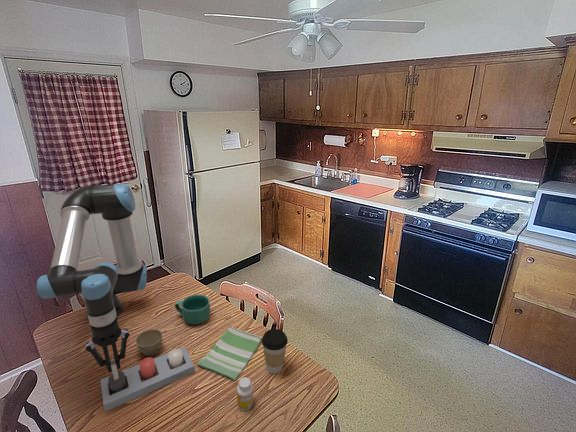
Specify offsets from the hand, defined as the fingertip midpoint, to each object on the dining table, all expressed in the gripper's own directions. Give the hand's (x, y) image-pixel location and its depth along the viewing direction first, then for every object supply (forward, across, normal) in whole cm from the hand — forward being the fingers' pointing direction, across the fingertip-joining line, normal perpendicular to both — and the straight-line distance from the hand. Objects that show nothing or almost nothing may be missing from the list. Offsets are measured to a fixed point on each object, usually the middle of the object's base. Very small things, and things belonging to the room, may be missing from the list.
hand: (116, 376), depth 108 cm
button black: (+6, 0, 0) cm, 6 cm away
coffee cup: (+7, +52, -20) cm, 56 cm away
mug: (+7, +35, +26) cm, 44 cm away
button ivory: (+6, +20, 0) cm, 21 cm away
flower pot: (+7, +14, +14) cm, 21 cm away
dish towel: (+8, +41, -4) cm, 42 cm away
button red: (+5, +10, 0) cm, 11 cm away
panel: (+7, +10, 0) cm, 12 cm away
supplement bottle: (+7, +35, -28) cm, 46 cm away
